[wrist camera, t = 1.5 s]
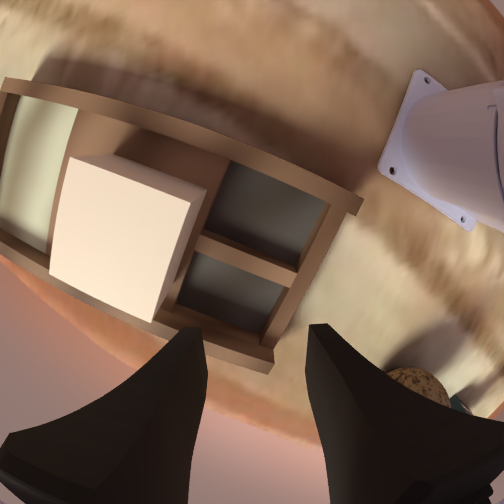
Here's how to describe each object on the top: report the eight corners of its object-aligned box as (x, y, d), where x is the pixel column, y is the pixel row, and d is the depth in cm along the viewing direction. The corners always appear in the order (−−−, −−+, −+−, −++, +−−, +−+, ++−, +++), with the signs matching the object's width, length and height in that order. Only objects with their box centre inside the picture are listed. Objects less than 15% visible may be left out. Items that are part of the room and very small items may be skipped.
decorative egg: (434, 372, 22) (481, 447, 13) (374, 416, 24) (404, 497, 14) (405, 333, 20) (466, 422, 11) (336, 386, 22) (366, 486, 13)
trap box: (346, 191, 17) (364, 198, 14) (266, 347, 21) (267, 374, 18) (30, 82, 14) (5, 77, 11) (-1, 226, 18) (-25, 237, 15)
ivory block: (207, 189, 16) (190, 203, 11) (173, 283, 17) (151, 323, 13) (112, 153, 15) (69, 156, 11) (88, 246, 17) (48, 273, 12)
